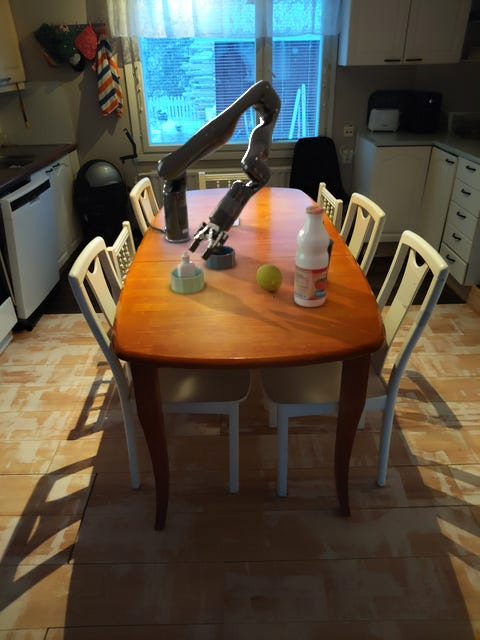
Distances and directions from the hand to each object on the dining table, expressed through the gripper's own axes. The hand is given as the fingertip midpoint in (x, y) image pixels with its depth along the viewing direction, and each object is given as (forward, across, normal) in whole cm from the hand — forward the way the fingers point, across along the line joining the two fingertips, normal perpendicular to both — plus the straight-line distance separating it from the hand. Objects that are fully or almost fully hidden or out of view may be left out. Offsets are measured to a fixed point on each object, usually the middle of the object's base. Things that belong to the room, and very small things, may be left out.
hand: (196, 255), depth 145 cm
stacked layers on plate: (-23, +51, -37) cm, 67 cm away
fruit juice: (-8, -30, -23) cm, 38 cm away
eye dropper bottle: (+10, 0, -4) cm, 11 cm away
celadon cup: (+10, 0, -4) cm, 11 cm away
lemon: (-4, -16, -19) cm, 25 cm away
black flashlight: (-16, -21, -31) cm, 40 cm away
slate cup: (-3, +11, -17) cm, 20 cm away
